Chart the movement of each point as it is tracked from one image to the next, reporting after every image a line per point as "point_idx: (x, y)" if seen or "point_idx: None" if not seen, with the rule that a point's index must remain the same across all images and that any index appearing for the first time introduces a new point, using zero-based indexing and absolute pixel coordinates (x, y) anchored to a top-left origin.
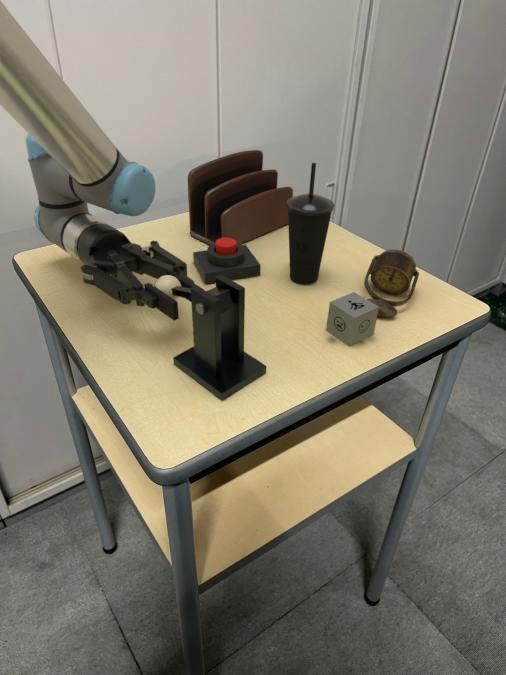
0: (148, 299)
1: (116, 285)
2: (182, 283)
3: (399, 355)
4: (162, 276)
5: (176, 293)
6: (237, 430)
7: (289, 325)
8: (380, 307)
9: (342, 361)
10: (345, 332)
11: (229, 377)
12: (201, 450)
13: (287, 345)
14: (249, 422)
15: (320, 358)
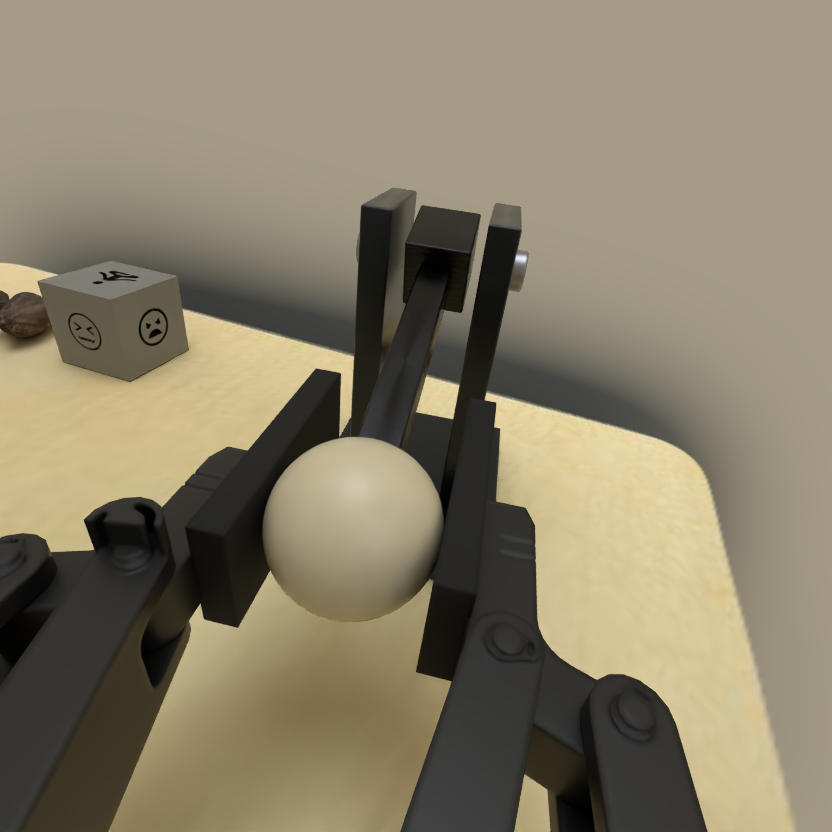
0: (533, 529)
1: (689, 826)
2: (287, 465)
3: (190, 311)
4: (358, 489)
5: (407, 435)
6: (529, 408)
7: (126, 435)
8: (42, 303)
9: (246, 351)
10: (171, 331)
11: (446, 434)
12: (610, 428)
13: (231, 417)
14: (499, 402)
15: (254, 372)
